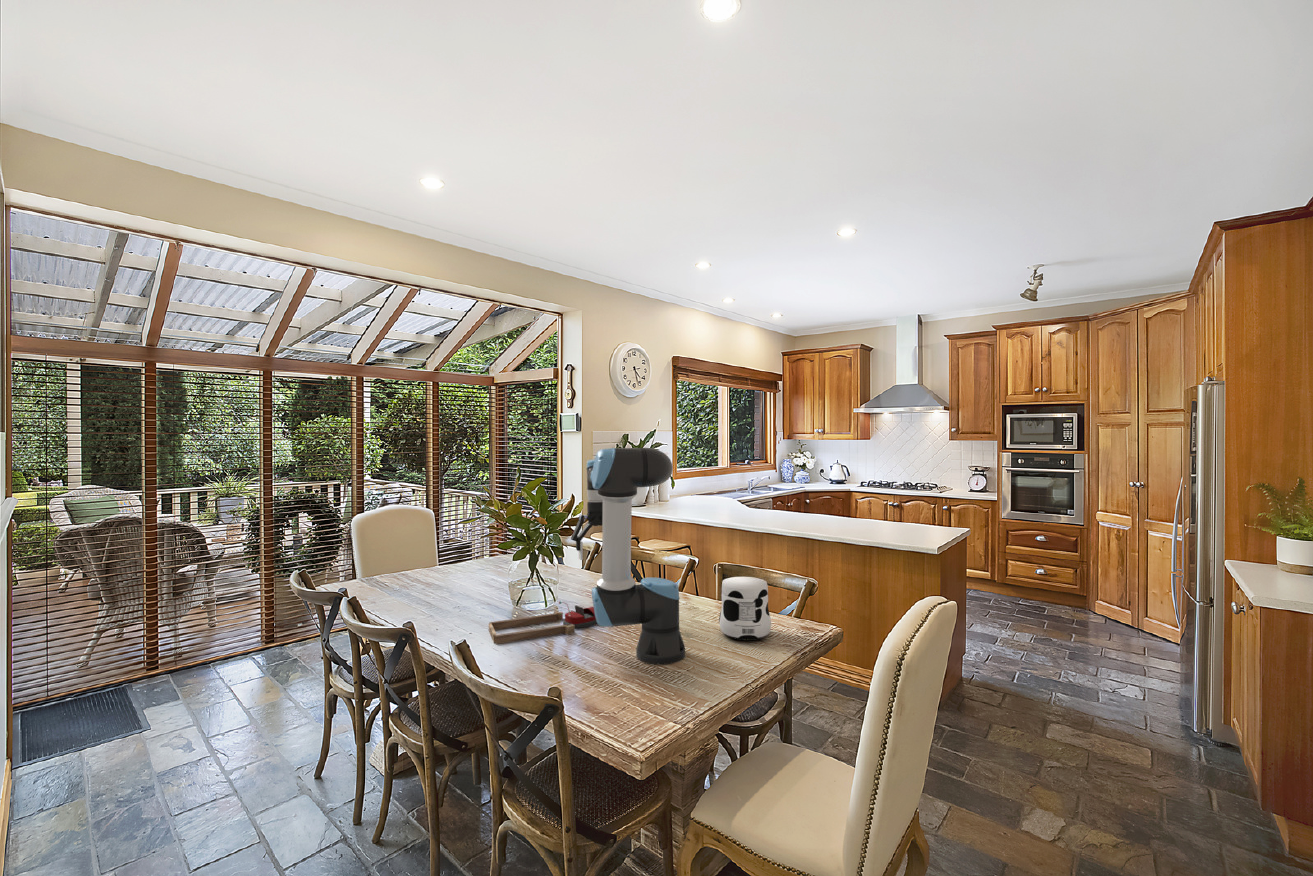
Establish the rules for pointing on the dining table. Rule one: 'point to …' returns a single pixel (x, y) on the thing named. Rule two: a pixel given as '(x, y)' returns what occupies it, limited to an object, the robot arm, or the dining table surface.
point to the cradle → (529, 633)
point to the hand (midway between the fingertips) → (598, 557)
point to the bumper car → (580, 617)
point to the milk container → (745, 608)
